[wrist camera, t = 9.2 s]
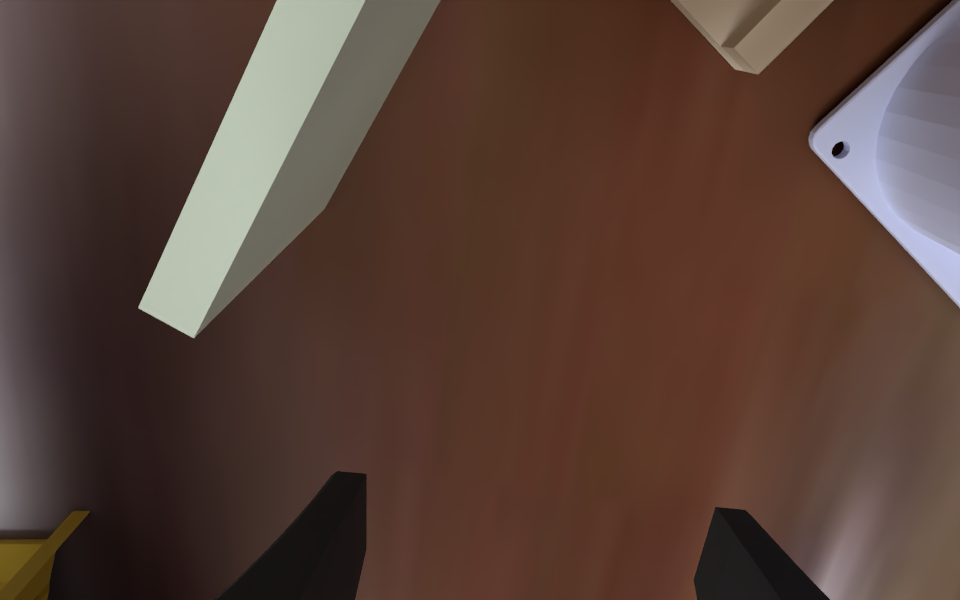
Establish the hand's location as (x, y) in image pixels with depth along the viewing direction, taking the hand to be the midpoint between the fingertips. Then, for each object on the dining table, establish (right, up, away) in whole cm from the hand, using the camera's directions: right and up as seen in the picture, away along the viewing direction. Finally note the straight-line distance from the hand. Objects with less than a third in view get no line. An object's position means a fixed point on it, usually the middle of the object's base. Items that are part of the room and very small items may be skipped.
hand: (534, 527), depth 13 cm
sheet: (-5, +11, +7) cm, 14 cm away
